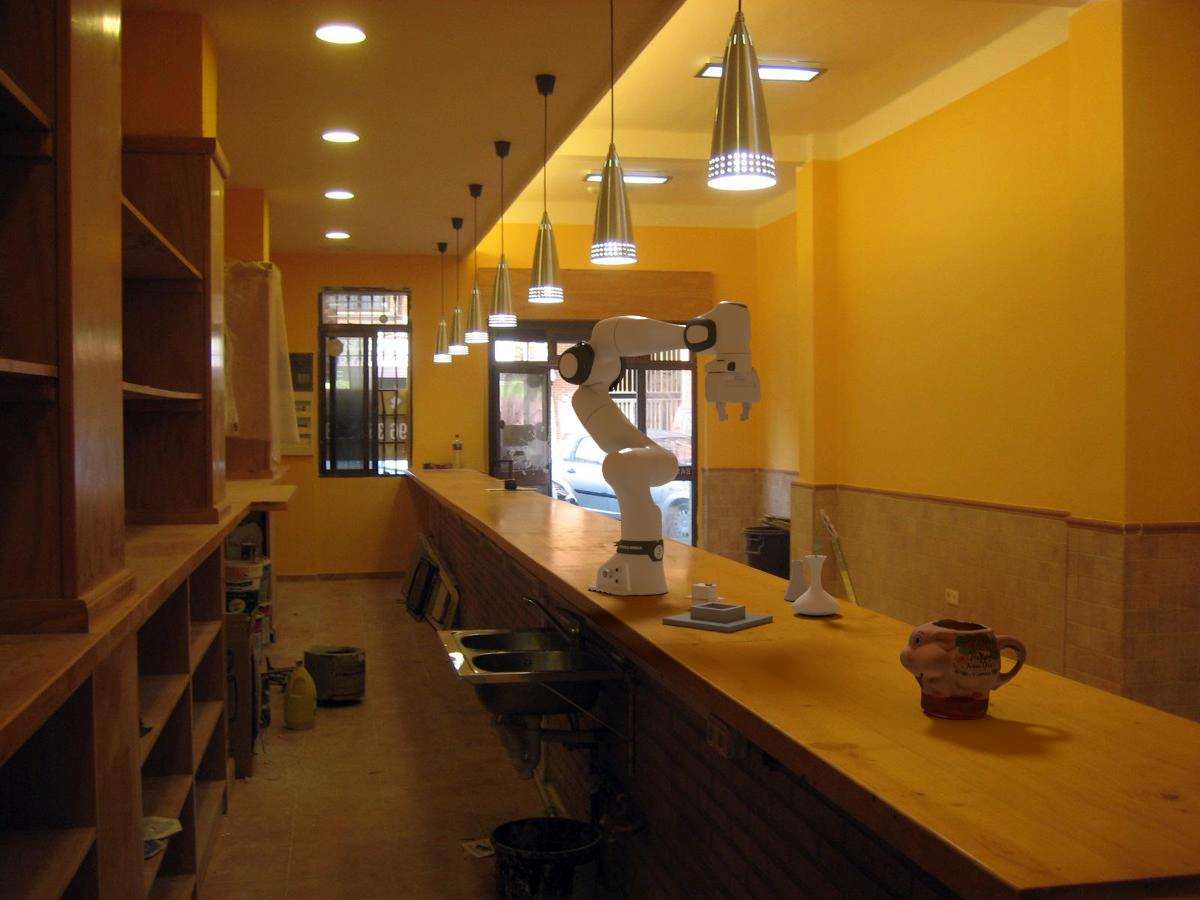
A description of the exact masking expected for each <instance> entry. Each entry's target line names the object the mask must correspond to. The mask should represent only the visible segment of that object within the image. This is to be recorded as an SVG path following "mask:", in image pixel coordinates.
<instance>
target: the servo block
mask: <svg viewBox="0 0 1200 900" xmlns="http://www.w3.org/2000/svg"><path fill="white" fill-rule="evenodd" d="M690 587H691V588H690V589H691V594H690V595H686V596H683V597H684V600H691V606H695V605H700V604H704V603H709V602H716V603H722V602H724V601H726V597H719V590H718V589H719V588H718V587H719V585H718V584H713V583H709V582H707V583H702V582H700V583H695V584H691V586H690Z"/></svg>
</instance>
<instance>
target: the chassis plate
mask: <svg viewBox="0 0 1200 900" xmlns="http://www.w3.org/2000/svg"><path fill="white" fill-rule="evenodd" d="M689 608H690V609H689V612H685V613H682V614H676V615H672V616H668V617H663V618H662V625H663V624H665V625H670V626H677V627H684V628H691V629H692V628H693V629H699V630H708V631H714V632H721V633H727V634H728V633H731V632H735V631H740V630H743V629H744V630H745V629H747V628H751V627H756V626H759V625H764V624H767V623H771V622H774V616H773V615H769V614H760V613H752V612H751V613H750V612H746V605H740V604H733V603H724V602H718V603H716V602H709V603H704V604H700V605H695V606H690V607H689Z"/></svg>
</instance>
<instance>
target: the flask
mask: <svg viewBox="0 0 1200 900" xmlns="http://www.w3.org/2000/svg"><path fill="white" fill-rule="evenodd" d="M804 562H805V561H804V560H799V559H798V560H797V559H796V560H794V559H793V560H791V562H790V563H791V564H792V570H791V576H790V580H789V583H788V586H787V589H786V591H785V593H784V596H783V599H784V600H786V601H790V602H791V601H793V602H795V601H796V600H797V599H798V598H799V597H800V596H802V595H803V594H804V593H805V592H806V591H808V589H809V587H808V586H809V585H808V583H807V580H806V578H805V573H804Z"/></svg>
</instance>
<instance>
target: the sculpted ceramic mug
mask: <svg viewBox="0 0 1200 900" xmlns="http://www.w3.org/2000/svg"><path fill="white" fill-rule="evenodd" d="M908 637H909V638H908V643H907V644H906V646H905V647H904V648H903V649H902V650H901V652H900V653H899V661H900V664H901V665H902V666H903V668H904V669H906V670H907V671H908V672H909V673H911V674H912V675H913V676H914V678H915V680H916V681H917V683H918V684H919V688H920V707H921V710H923V711H925V712H926V713H928V714H930V715H933V716H936V717H939V718H940V717H941V718H946V719H952V720H976V719H980V718H981V719H982V718H984V717H985V716H986V714H987V713H988V710H989V705H990V704H989V702H990V695H991V694H990V692H991V691H993V692H995V691H997V690H998V689H999V688H1001V687H1003V686H1004V685H1005V684H1007V683H1009V682H1010V681H1011V680H1012V679H1014V678H1015V677H1016V676H1017V674H1018V673H1019V672H1020V671H1021V669H1023V665H1024V664H1025V663H1026V660H1027V650H1026V647H1025V644H1024V643H1023V642H1022V641H1021V640H1019V638H1017V637H1014V636H1013V635H1006V634H999V635H997V634H994V629H993V628H992V627H990V626H987V625H985V624H983V623H982V624H981V623H975V622H970V621H961V620H956V619H950V618H945V619H939V620H935V621H930V622H926V623H925V624H921V625H919V626H916V627H915V628H914V629H913V630H912V631H911V634H910V635H909V636H908ZM1003 649H1011V650H1013V651H1014V652H1015V655H1016V658H1017V660H1016V662H1015V664H1014V666H1013V667H1012V668H1011V669H1010V670H1009V671H1007V672H1001V669H1002V658H1001V657H1002V656H1001V651H1002V650H1003Z"/></svg>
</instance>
